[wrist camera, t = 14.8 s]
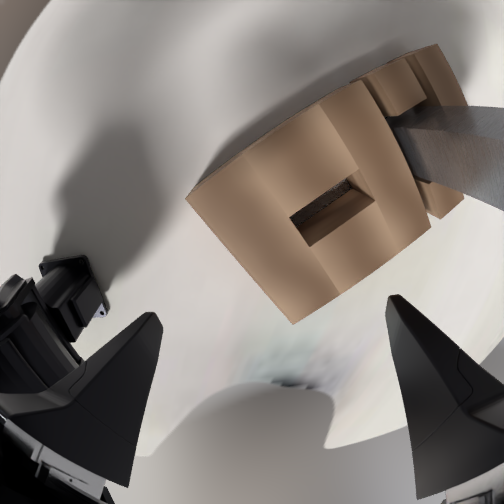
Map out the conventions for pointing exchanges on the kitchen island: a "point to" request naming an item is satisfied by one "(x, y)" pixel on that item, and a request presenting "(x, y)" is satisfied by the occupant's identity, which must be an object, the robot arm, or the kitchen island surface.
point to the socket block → (324, 178)
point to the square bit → (455, 148)
